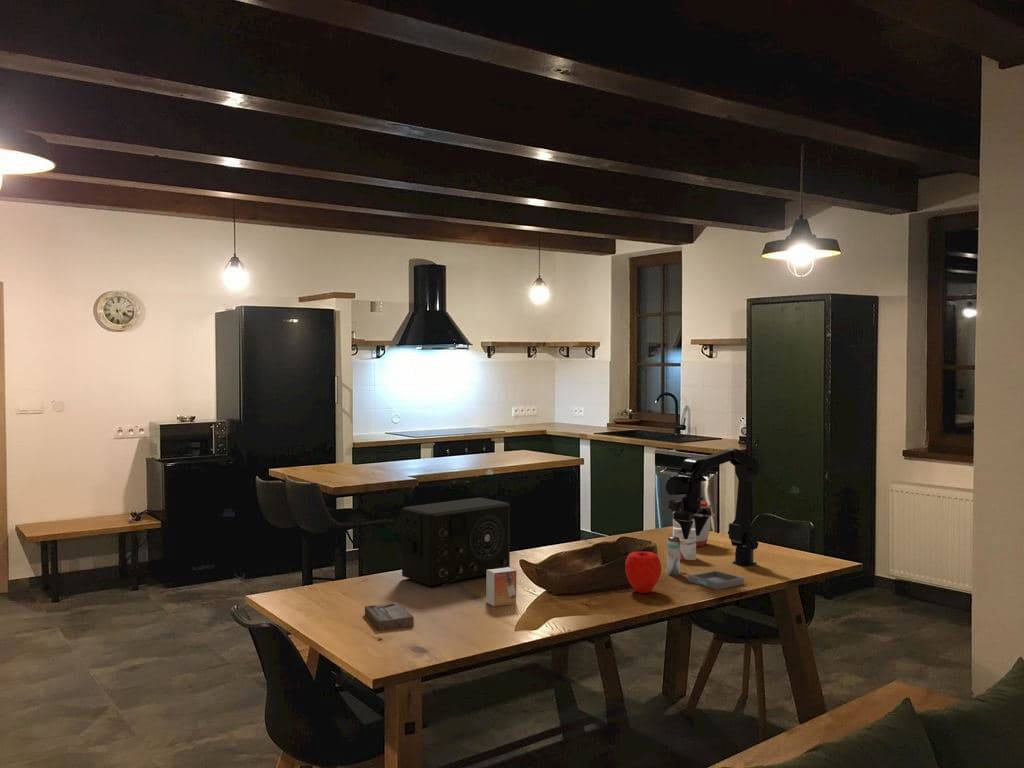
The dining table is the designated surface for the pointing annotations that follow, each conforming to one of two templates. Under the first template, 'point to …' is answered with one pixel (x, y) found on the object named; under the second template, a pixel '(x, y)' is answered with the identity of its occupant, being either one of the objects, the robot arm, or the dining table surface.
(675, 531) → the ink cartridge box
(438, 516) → the vintage radio
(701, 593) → the dining table surface
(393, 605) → the box
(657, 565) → the apple
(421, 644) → the dining table surface
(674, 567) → the canister
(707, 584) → the tray
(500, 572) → the small box
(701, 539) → the citrus juicer
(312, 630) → the dining table surface
